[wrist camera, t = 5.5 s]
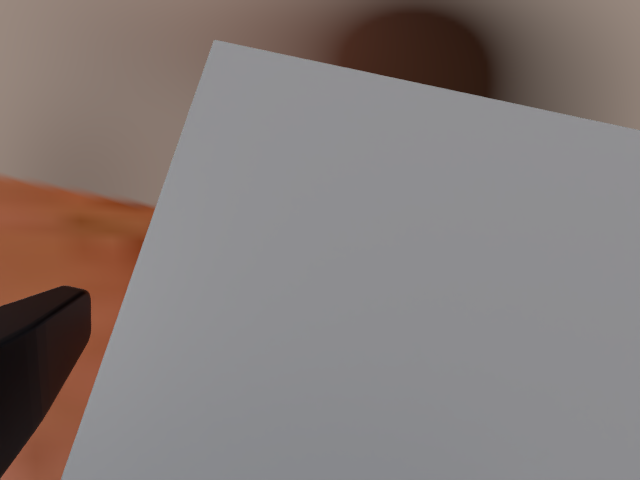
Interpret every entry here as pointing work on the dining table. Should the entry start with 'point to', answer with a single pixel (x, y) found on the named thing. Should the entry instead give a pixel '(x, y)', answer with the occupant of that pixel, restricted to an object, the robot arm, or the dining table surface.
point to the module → (376, 290)
